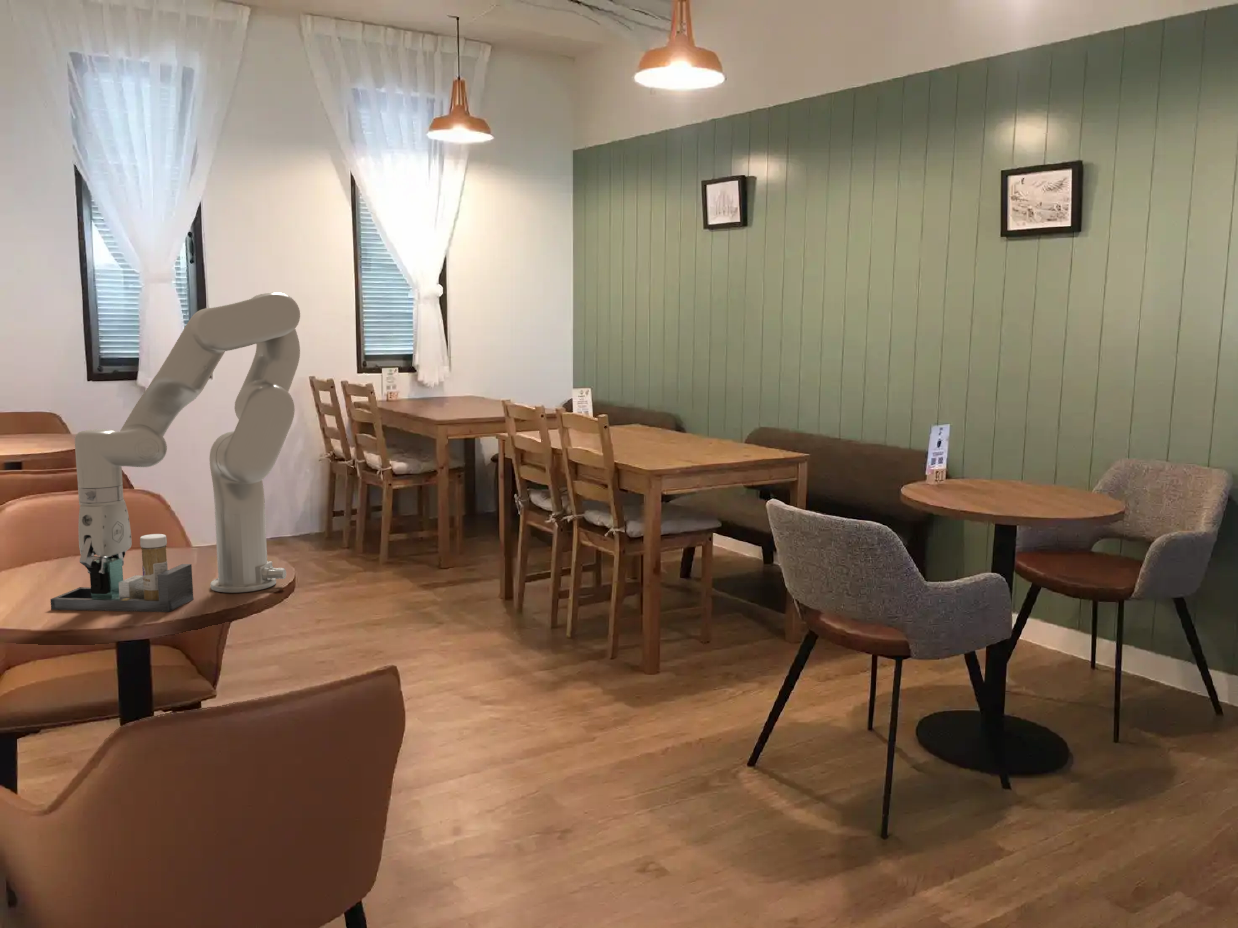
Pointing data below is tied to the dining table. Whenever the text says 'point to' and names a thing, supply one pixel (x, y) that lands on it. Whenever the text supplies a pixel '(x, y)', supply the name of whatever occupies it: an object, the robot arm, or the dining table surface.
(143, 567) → the sprinkles bottle
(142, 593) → the press carriage
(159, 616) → the dining table surface
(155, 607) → the frame
